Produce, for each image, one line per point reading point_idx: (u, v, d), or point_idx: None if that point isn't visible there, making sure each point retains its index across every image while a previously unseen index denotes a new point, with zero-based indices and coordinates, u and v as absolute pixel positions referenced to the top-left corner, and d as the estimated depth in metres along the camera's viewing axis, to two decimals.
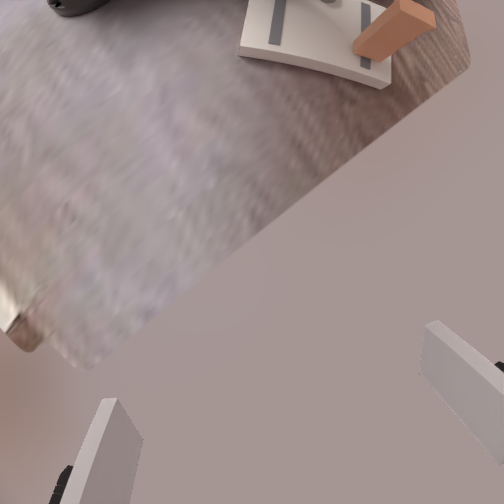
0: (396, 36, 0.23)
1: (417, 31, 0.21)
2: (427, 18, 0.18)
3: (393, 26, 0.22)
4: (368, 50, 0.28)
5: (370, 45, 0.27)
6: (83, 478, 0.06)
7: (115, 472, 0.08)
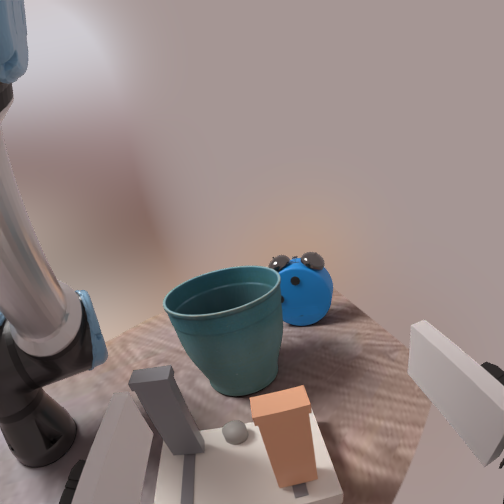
0: (292, 446, 0.21)
1: (302, 424, 0.21)
2: (294, 401, 0.21)
3: (274, 439, 0.21)
4: (288, 477, 0.23)
5: (283, 471, 0.22)
6: (97, 471, 0.06)
7: (127, 465, 0.08)
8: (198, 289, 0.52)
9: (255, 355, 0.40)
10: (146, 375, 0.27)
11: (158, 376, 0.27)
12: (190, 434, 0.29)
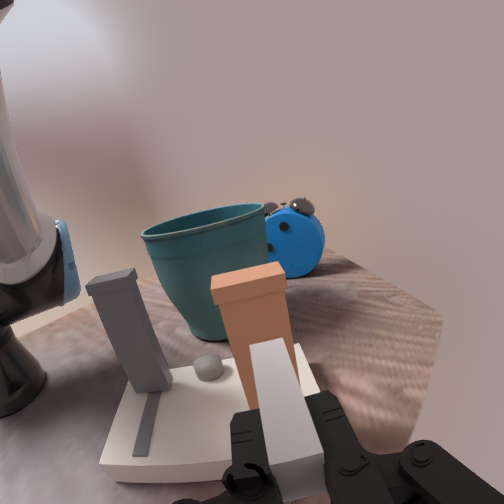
0: None
1: (277, 310, 0.18)
2: (265, 272, 0.18)
3: (242, 334, 0.18)
4: None
5: None
6: (278, 410, 0.09)
7: None
8: (181, 229, 0.50)
9: None
10: (105, 277, 0.25)
11: (118, 276, 0.24)
12: (153, 359, 0.26)
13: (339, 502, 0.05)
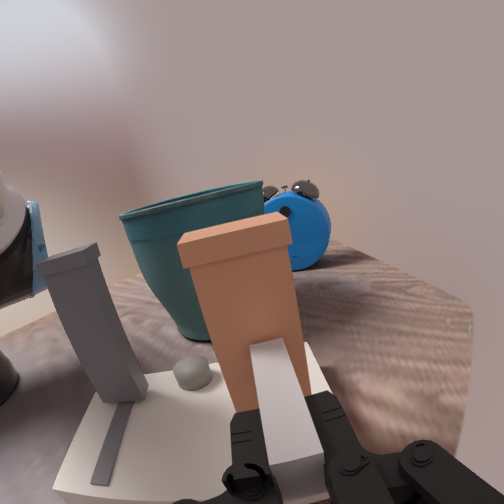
0: (263, 340, 0.13)
1: (277, 279, 0.12)
2: (258, 221, 0.12)
3: (226, 315, 0.13)
4: None
5: None
6: (278, 410, 0.09)
7: None
8: None
9: None
10: (61, 254, 0.18)
11: (73, 251, 0.18)
12: (119, 361, 0.20)
13: (339, 502, 0.05)
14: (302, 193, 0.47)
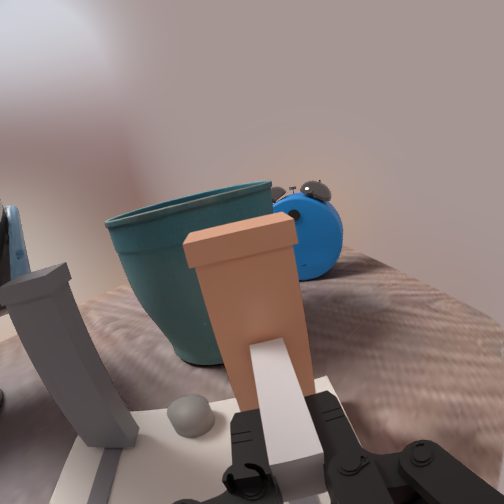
0: (268, 340, 0.13)
1: (283, 279, 0.12)
2: (264, 221, 0.12)
3: (231, 315, 0.13)
4: None
5: (257, 408, 0.14)
6: (279, 410, 0.09)
7: None
8: None
9: None
10: (23, 278, 0.13)
11: (36, 275, 0.13)
12: (101, 407, 0.15)
13: (339, 502, 0.05)
14: (313, 195, 0.42)
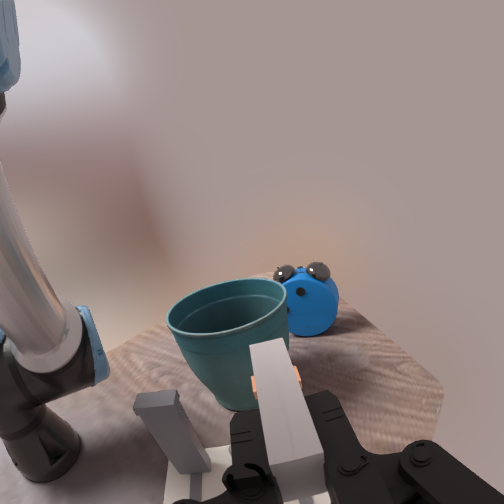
0: None
1: None
2: None
3: None
4: None
5: None
6: (279, 409, 0.09)
7: None
8: (202, 302, 0.51)
9: None
10: (150, 400, 0.26)
11: (163, 401, 0.25)
12: (196, 454, 0.27)
13: (339, 502, 0.05)
14: (316, 277, 0.55)
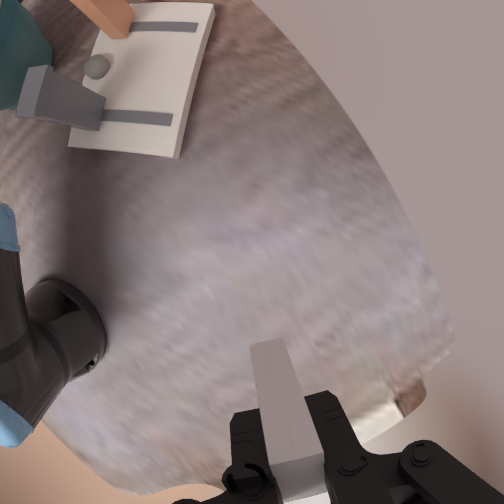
0: None
1: None
2: None
3: None
4: (122, 23, 0.24)
5: (117, 21, 0.23)
6: (279, 410, 0.09)
7: None
8: None
9: (32, 31, 0.20)
10: (30, 94, 0.16)
11: (38, 77, 0.16)
12: (89, 93, 0.24)
13: (339, 502, 0.05)
14: None
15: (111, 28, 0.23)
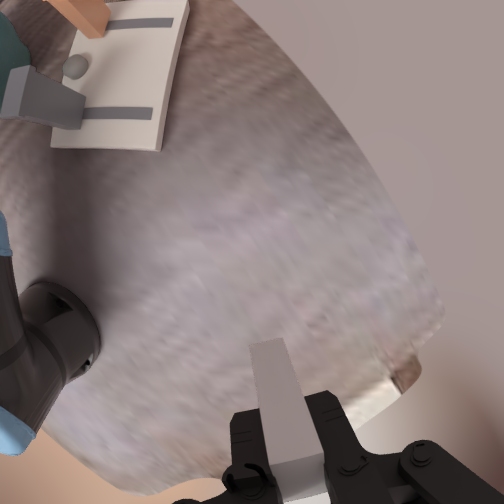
0: None
1: None
2: None
3: None
4: (99, 22, 0.23)
5: (95, 20, 0.22)
6: (279, 410, 0.09)
7: None
8: None
9: (10, 35, 0.19)
10: (13, 95, 0.16)
11: (21, 78, 0.15)
12: (70, 92, 0.23)
13: (339, 502, 0.05)
14: None
15: (89, 27, 0.22)
